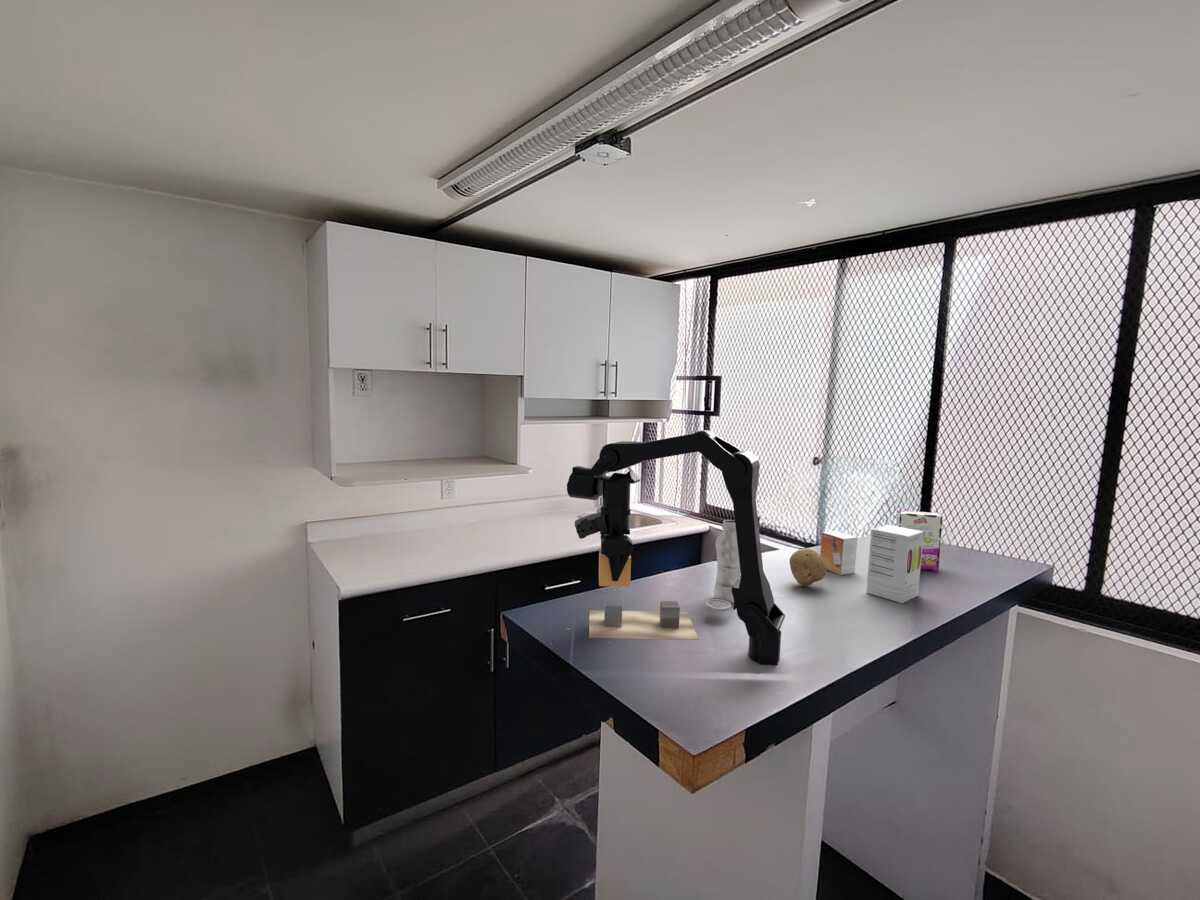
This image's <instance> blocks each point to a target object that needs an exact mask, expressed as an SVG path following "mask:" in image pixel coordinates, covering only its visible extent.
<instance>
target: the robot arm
mask: <svg viewBox="0 0 1200 900" xmlns="http://www.w3.org/2000/svg"><path fill="white" fill-rule="evenodd" d="M691 453H692V454H693V453H700V454H701V455H702V456H703V457H704V458H705V459H706V460H707V461H708V462H709V463H710V464H711V465H713V466H714V467H715V468H716V469H718V470H719V471H721V473H722V478H723V481H724V484H725V488H726V490H727V493H728V495H729V497H730V499H731V502H732V506H733V515H734V520H735V526H736V536H737V545H738V554H739V563H740V574H741V577H740V579H738V580H737V581H736V583H735V584H734V585H733V587H732V588H731V589H732V595H733V598H734V604H733V607H732V610H733V611H735V610H736V614H737V617H738V618H739V620H741V621H742V622H743V623H744V625H745V630H746V633H747V635H748V652H747V654H748V655H747V656H748V658H749V659H750V660H751V661H753V662H756V663H758V664H759V665H760V666H778V664H779V661H780V656H781V644H782V643H781V642H782V641H781V640H782V631H781V627H782V625H783V623H784V621H785V618H786V615H785V613H784V612H783V611H782V610H781V609H780V608H779V606H778V605H777V604H776V603H775V599H774V595H773V592H772V589H771V585H770V582H769V580H768V578H767V576H766V573H765V572H764V566H763V553H762V548H761V547H762V546H761V536H760V527H759V516H758V509H757V493H758V487H759V479H760V478H759V477H760V467H761V466H760V465H761V464H760V460H759V458H758V457H757V455H756V454H754V453H753V452H751V451H750V450H741V449H739V447H737V446H736V445H733V444H732V443H730V442H728V441H726V440H725V439H722V438H721V437H720V436H718V435H717V434H715V433H714V432H712V431H711V430H709V429H704V430H699V431H696V432H692V433H689V434H682V435H678V436H673V437H668V438H667V437H666V438H661V439H657V440H650V441H625V440H624V441H616V442H612V443H607V444H605V445H603V446H602V448H601V449H600V452H599V454H598V455H599V456H598V457H599V458H598V459H597V460H596V462H595V463H594V464H593V465H592V467H584V466H580V465H575V466H573V467H572V470H571V474H569V477H568V480H567V483H566V493H567V495H568V497H570V498H572V499H573V498H574V499H579V500H580V499H581V500H582V499H583V500H590V501H597V500H598V499H599V498H600V497H601V496H602V504H601V506H600V512H597V513H592V514H589V515H586V516H584V517H580V518H578V519H576V520H574V527H575V530H576V533H577V536H578V539H585V538H587V537H589V536H591V535H594V534H597V533H599V536H600V549H601V554H603V555H605V556H606V557H607V558H608V559H609V564H610V570H611V576H612V581H618V579H619V577H620V575H621V573H622V571H623V569H624V566H625V564H626V562H627V560H628V558H629V556H630V555H633V554H634V543H633V540H632V539H631V537H630V535H631V530H630V517H631V516H630V515H631V508H630V507H631V485H633V484H637V483H639V482H641V477H639V476H638V475H637V474H636V473H635V472H634V470H629V471H627V472H626V473H624V472H618V471H621V470H624V469H628V468H631V467H633V466H636V465H639V464H642V463H644V462H646V461H651V460H656V459H663V458H668V457H675V456H681V455H686V454H691ZM612 472H613V473H612ZM610 473H612V474H611V475H610V476H609V475H607V474H610ZM605 474H606V475H605ZM628 535H629V536H628Z"/></svg>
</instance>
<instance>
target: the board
mask: <svg viewBox="0 0 1200 900" xmlns="http://www.w3.org/2000/svg"><path fill="white" fill-rule="evenodd" d="M659 602H660V605H659V606H660V607H659V608H660V609H659V611H658V610H657V611H656V610H655V611H653V610H649V611H648V610H622V627H605V626H604V609H603V610H602V609H601V610H600V609H599V610H597V609H596V610H595V609H594V610H593V609H592V610H591V609H590V610H589V617H588V618H589V619H588V621H589V622H588V623H589V625H588V626H589V627H588V629H589V630H588V638H589V639H625V640H626V639H628V640H629V639H630V640H632V639H633V640H635V639H636V640H639V639H640V640H641V639H642V640H644V639H646V640H650V639H651V640H692V641H693V640H699V637H698V635H697V632H696V629H695V627H694V625H693V622H692V620H691V617H690V615H689V613H688V611H680V608H681V607H680V605H679V602H678V601H677V600H660V601H659Z"/></svg>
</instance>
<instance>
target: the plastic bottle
mask: <svg viewBox="0 0 1200 900" xmlns="http://www.w3.org/2000/svg"><path fill="white" fill-rule="evenodd" d="M721 528H722V530H723V531H721V533H720V534H719V535H718V536H717V537H716V540H715V550H716V563H717V566H716V578H715V583H714V587H713V597H714V598H713V599H720V600H724V601H727V602H729V603H730V604H731V605H734V598H733V595H732V589H731V588H732V587H733V585H734V584H735V583H736V581H737V580H738V579H740V577H741V573H740V563H739V554H738V545H737V536H736V526H735V519H734V520H733V519H725V520H723V521H722V527H721Z"/></svg>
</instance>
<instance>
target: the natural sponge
mask: <svg viewBox="0 0 1200 900" xmlns="http://www.w3.org/2000/svg"><path fill="white" fill-rule="evenodd" d="M789 567H790V570H791V573H792V576H793V578H794V580H796V582H797V583H798V584H799V585H800V586H801V587H809V586H811V585H813V584H814V583H817V582H820V581H822V580H823V579H824V577H826V574H827V569H826V566H825V564H824V561H823V559H822V557H821V556H820V553H818V552H817V551H815V550H813V549H812V548H803V549H802V548H801V549H798V550H796V551H794V552H793V553H792V554H791V555H790V558H789Z"/></svg>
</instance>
